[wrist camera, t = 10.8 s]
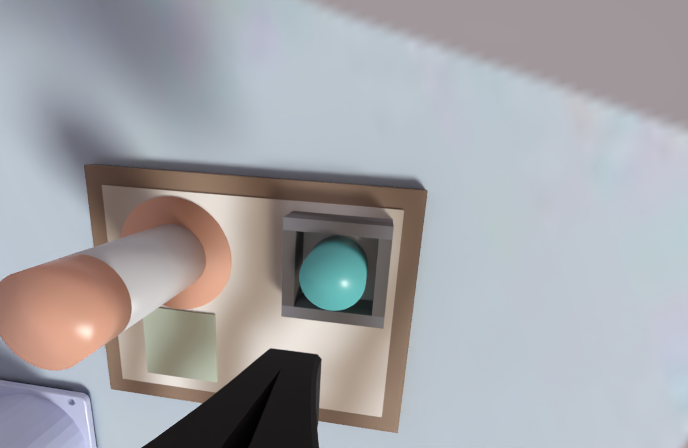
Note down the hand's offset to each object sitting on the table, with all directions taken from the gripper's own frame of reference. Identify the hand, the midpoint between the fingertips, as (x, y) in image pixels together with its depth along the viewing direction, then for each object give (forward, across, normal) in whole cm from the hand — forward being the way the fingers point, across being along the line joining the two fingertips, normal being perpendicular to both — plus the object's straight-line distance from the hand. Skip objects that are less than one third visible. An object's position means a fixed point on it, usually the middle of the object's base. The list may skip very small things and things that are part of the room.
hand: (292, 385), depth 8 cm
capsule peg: (+9, +9, 0) cm, 12 cm away
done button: (+9, 0, 0) cm, 9 cm away
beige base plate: (+9, +5, +3) cm, 11 cm away
